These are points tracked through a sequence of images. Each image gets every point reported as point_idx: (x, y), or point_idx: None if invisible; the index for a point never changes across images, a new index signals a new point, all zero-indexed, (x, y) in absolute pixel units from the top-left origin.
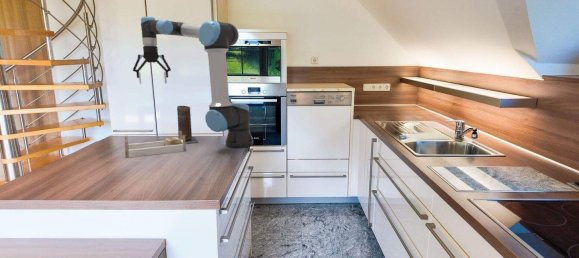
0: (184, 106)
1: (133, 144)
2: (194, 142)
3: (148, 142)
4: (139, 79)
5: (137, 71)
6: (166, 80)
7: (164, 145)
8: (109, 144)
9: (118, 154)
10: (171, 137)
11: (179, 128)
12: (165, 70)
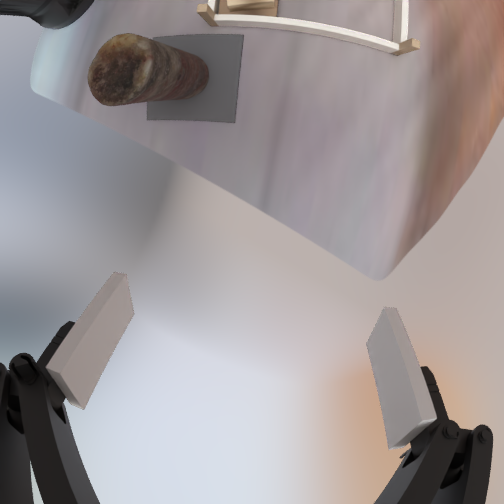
0: (109, 85)
1: (382, 39)
2: (165, 36)
3: (333, 28)
4: (411, 346)
5: (451, 428)
6: (99, 291)
7: (276, 16)
8: (423, 177)
9: (418, 35)
10: (246, 3)
11: (191, 59)
12: (39, 389)
